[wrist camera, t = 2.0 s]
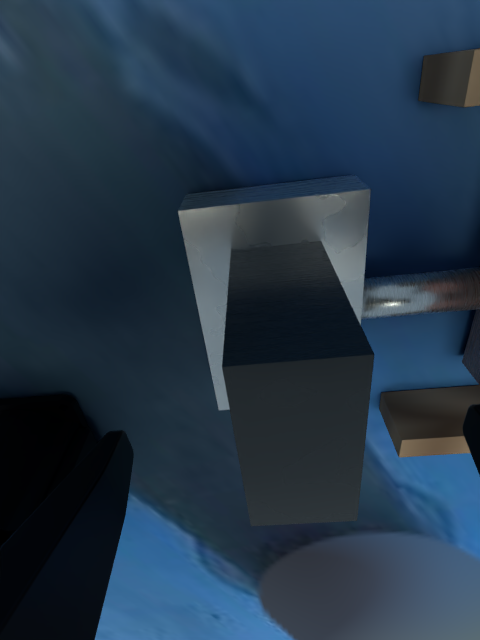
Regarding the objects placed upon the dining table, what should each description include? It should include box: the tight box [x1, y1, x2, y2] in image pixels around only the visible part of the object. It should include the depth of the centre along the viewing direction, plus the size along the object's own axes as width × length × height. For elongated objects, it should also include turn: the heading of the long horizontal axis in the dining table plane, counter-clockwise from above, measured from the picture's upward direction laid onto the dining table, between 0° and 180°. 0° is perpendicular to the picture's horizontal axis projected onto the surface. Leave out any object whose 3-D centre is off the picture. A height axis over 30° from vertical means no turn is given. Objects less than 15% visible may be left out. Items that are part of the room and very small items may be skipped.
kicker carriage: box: [178, 175, 480, 526], centre depth 12 cm, size 13×9×8 cm
